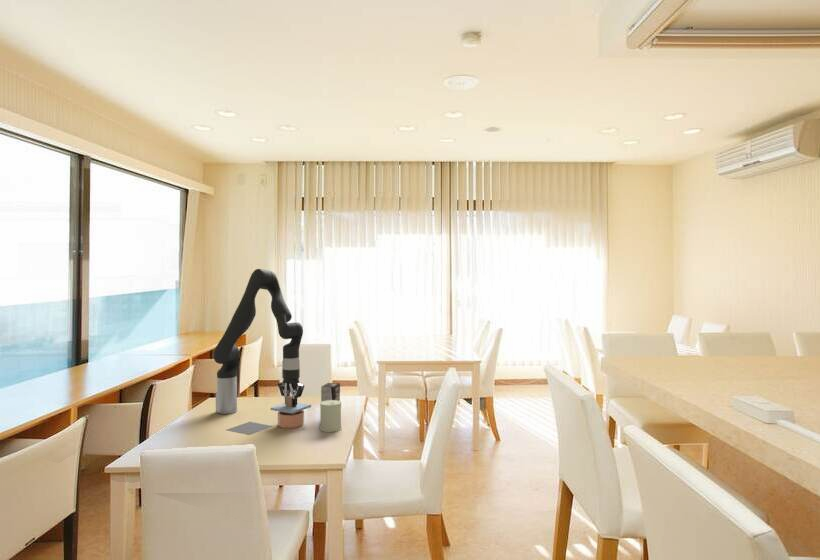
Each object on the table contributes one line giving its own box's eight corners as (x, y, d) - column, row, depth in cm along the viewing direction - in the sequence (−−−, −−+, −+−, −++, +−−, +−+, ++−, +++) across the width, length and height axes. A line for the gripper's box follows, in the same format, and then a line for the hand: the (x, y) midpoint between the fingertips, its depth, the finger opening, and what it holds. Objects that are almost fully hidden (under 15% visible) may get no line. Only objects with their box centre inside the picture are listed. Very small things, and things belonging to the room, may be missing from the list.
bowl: (272, 426, 227) (272, 413, 227) (289, 420, 237) (289, 407, 237) (292, 430, 222) (292, 416, 222) (308, 423, 232) (308, 410, 231)
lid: (270, 410, 227) (270, 397, 227) (289, 403, 238) (289, 391, 238) (292, 413, 221) (292, 400, 221) (311, 406, 232) (311, 394, 232)
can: (323, 433, 218) (323, 405, 218) (317, 427, 227) (317, 400, 226) (344, 430, 223) (344, 402, 222) (337, 424, 231) (337, 398, 231)
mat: (225, 430, 221) (225, 429, 221) (249, 422, 234) (249, 421, 234) (249, 435, 215) (249, 434, 215) (273, 426, 227) (273, 426, 227)
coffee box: (333, 422, 234) (333, 387, 234) (320, 421, 236) (320, 386, 235) (340, 416, 243) (340, 382, 243) (327, 416, 244) (327, 382, 244)
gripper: (273, 367, 229) (273, 406, 229) (297, 370, 222) (297, 410, 223) (284, 364, 236) (284, 402, 236) (308, 367, 229) (309, 406, 229)
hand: (291, 405), depth 229 cm, fingers closed on lid, 3 cm apart
